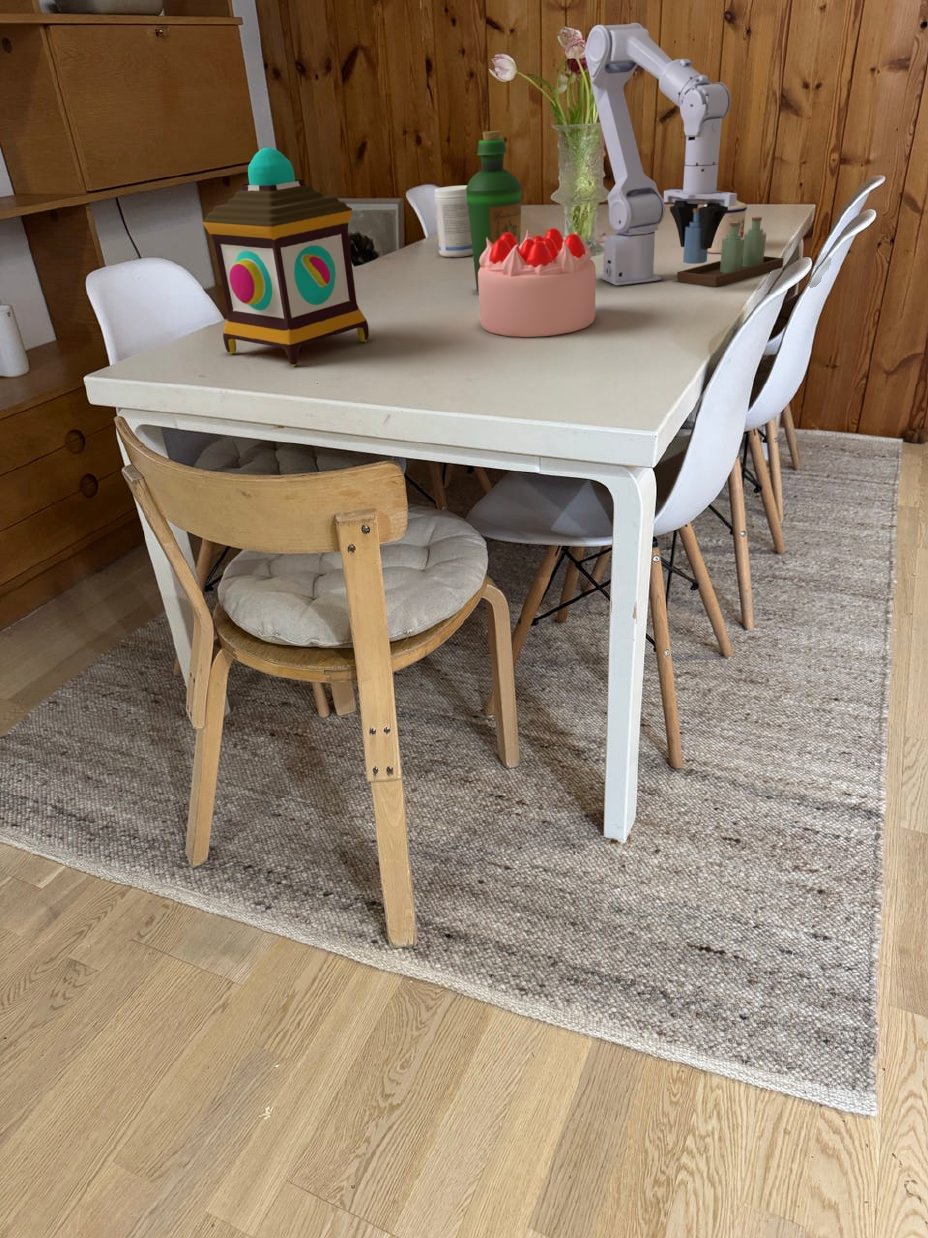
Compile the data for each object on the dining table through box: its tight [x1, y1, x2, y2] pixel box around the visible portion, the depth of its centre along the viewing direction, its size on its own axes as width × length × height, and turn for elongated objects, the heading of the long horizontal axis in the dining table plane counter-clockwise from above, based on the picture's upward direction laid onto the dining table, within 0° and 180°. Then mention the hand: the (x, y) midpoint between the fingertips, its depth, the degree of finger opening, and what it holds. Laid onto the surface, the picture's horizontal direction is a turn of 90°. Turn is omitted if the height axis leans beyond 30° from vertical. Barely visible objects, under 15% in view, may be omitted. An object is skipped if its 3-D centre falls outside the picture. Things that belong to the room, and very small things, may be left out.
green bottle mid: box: [720, 222, 745, 273], centre depth 176 cm, size 4×4×9 cm
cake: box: [478, 227, 597, 338], centre depth 152 cm, size 20×20×14 cm
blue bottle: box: [682, 206, 708, 265], centre depth 163 cm, size 4×4×9 cm
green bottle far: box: [742, 215, 767, 267], centre depth 180 cm, size 4×4×9 cm
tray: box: [676, 255, 785, 288], centre depth 178 cm, size 21×9×2 cm, turn 129°
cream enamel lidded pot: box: [706, 191, 748, 254], centre depth 199 cm, size 12×9×12 cm
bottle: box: [466, 130, 522, 293], centre depth 172 cm, size 11×11×28 cm
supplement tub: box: [434, 184, 473, 258], centre depth 214 cm, size 10×10×15 cm
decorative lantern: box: [202, 146, 370, 367], centre depth 144 cm, size 20×20×30 cm
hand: (695, 247), depth 164 cm, fingers closed on blue bottle, 4 cm apart
